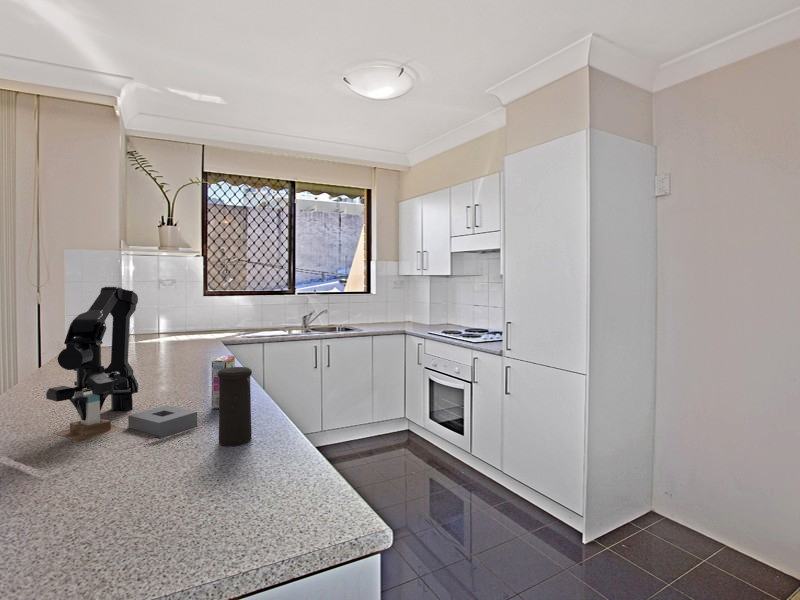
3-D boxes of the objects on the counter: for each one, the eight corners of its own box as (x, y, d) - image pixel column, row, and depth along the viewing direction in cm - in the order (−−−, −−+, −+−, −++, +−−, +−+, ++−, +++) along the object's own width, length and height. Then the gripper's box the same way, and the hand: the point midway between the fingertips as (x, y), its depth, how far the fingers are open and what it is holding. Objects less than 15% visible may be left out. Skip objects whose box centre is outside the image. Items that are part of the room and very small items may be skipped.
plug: (80, 431, 129) (79, 395, 128) (92, 428, 131) (91, 393, 131) (88, 433, 127) (88, 397, 126) (100, 430, 129) (99, 395, 129)
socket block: (128, 430, 132) (128, 415, 132) (166, 419, 143) (166, 405, 143) (159, 439, 126) (159, 422, 126) (197, 426, 136) (197, 411, 136)
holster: (55, 437, 127) (54, 424, 127) (100, 425, 137) (100, 413, 137) (79, 445, 121) (78, 431, 121) (125, 431, 132) (124, 419, 131)
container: (259, 437, 128) (258, 365, 127) (237, 449, 119) (237, 372, 118) (233, 434, 130) (232, 363, 129) (210, 444, 122) (209, 369, 121)
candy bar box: (226, 409, 154) (226, 360, 153) (211, 409, 154) (210, 360, 153) (235, 400, 165) (235, 355, 165) (221, 400, 165) (220, 355, 164)
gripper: (67, 371, 116) (68, 433, 117) (139, 360, 133) (140, 414, 133) (44, 367, 121) (46, 426, 122) (116, 356, 138) (117, 408, 139)
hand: (90, 418), depth 129 cm, fingers closed on plug, 3 cm apart
